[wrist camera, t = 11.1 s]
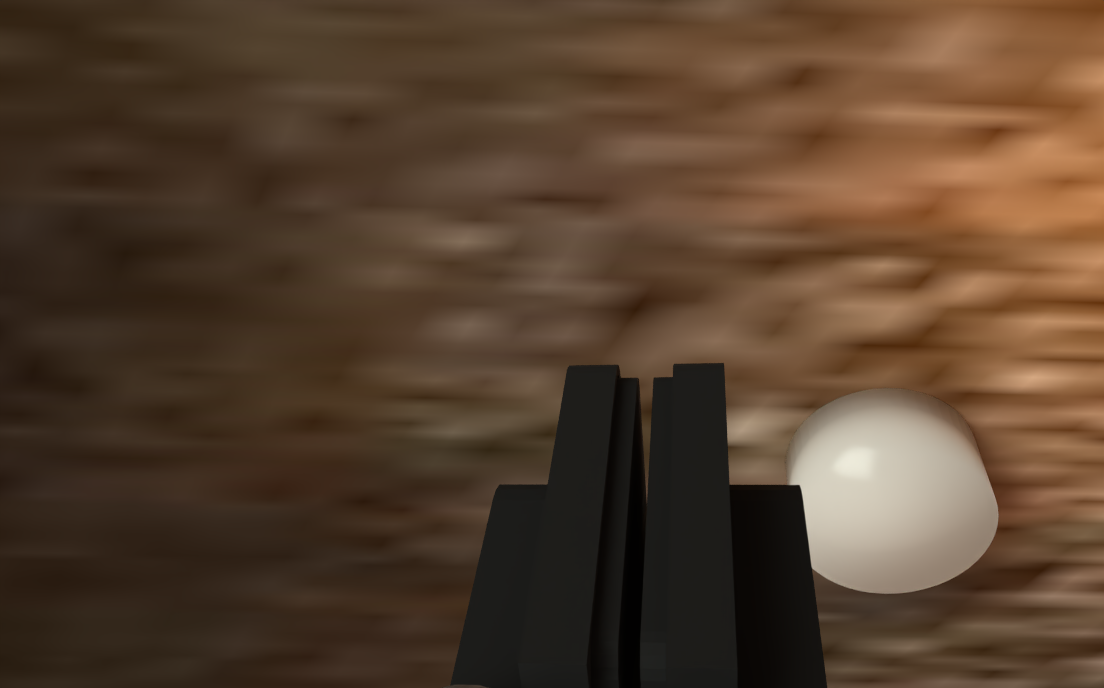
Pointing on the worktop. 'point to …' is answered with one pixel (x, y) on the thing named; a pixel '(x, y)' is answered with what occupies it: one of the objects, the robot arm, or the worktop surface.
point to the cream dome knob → (891, 491)
